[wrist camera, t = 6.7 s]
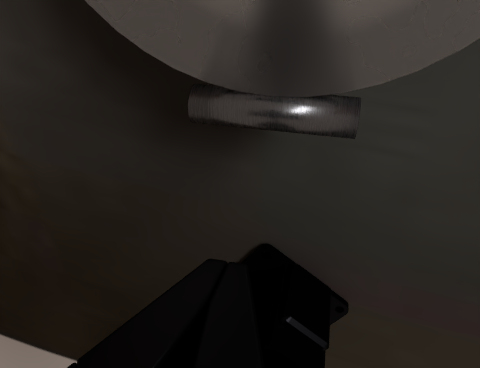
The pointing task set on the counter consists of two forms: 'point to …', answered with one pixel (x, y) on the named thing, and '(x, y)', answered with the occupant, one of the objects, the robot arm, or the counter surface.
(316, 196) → the counter surface
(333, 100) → the lid
